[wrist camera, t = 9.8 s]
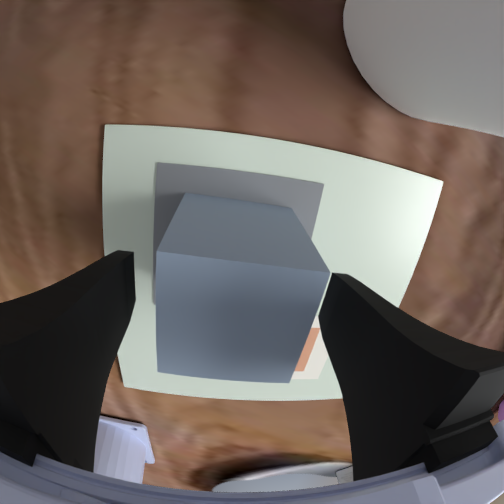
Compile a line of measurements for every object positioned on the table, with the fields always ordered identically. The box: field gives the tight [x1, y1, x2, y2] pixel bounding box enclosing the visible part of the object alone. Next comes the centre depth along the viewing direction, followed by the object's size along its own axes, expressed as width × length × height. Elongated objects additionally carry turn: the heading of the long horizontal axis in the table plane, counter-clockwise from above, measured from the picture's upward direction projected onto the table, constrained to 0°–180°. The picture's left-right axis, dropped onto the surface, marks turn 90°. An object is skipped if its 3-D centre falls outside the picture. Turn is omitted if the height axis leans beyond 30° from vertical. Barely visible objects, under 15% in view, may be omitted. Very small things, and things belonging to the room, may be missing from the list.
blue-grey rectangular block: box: [156, 193, 330, 383], centre depth 11 cm, size 4×4×6 cm
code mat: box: [102, 124, 443, 401], centre depth 15 cm, size 16×16×1 cm
